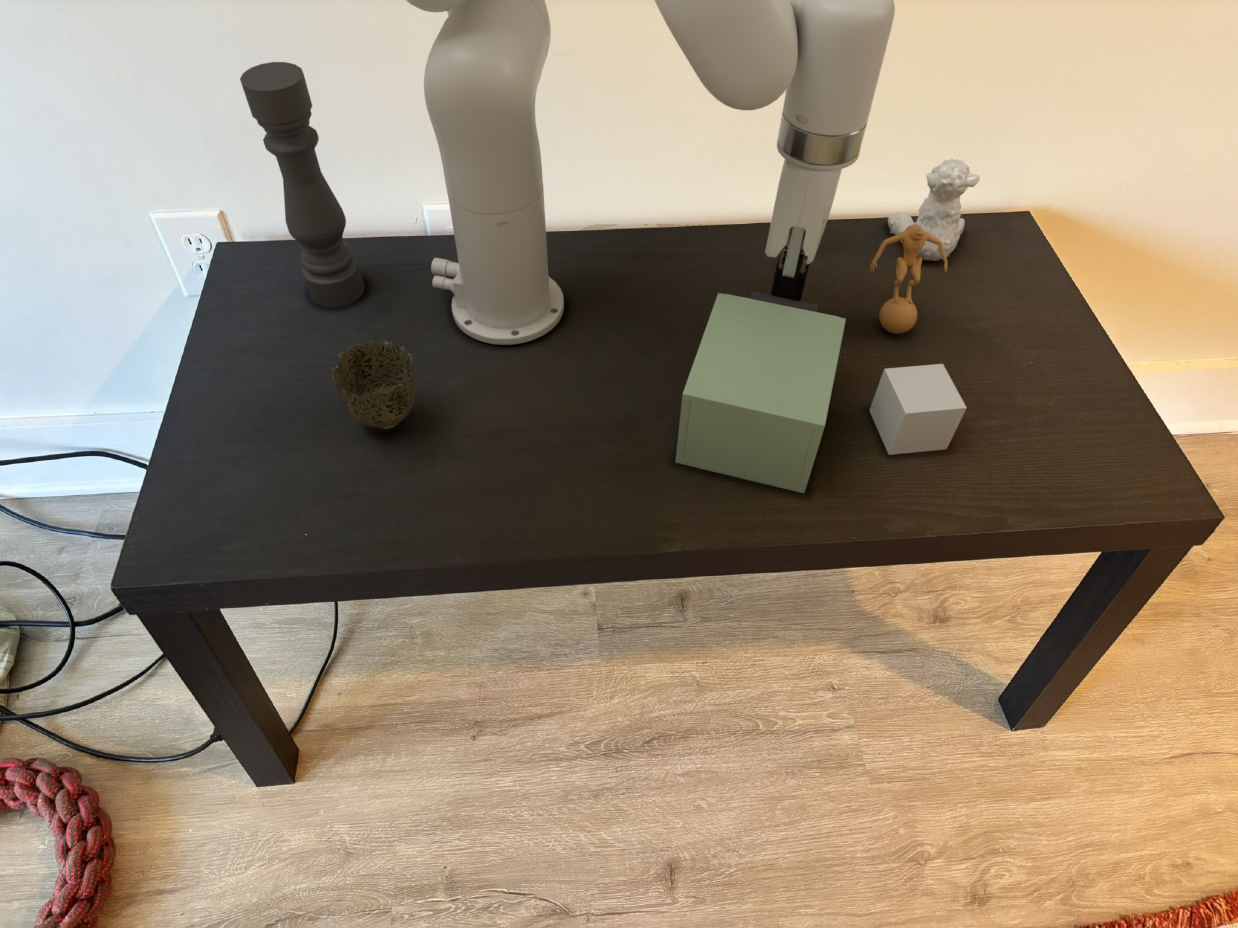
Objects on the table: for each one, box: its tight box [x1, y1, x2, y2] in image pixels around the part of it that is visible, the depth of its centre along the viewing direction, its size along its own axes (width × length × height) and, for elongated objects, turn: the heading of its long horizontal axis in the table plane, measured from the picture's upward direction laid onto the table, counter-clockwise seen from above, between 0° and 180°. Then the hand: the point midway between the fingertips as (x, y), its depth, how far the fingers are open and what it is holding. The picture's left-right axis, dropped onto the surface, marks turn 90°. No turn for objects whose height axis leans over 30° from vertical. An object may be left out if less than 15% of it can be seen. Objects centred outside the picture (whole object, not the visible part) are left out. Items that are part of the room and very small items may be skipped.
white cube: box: [869, 363, 967, 456], centre depth 83 cm, size 6×6×6 cm
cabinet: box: [675, 292, 847, 494], centre depth 82 cm, size 15×13×10 cm
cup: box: [330, 339, 416, 435], centre depth 82 cm, size 8×7×8 cm
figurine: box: [869, 225, 949, 335], centre depth 91 cm, size 8×6×12 cm
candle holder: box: [239, 61, 366, 308], centre depth 88 cm, size 6×6×25 cm
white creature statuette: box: [887, 158, 981, 262], centre depth 100 cm, size 10×9×12 cm
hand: (786, 294), depth 90 cm, fingers closed
